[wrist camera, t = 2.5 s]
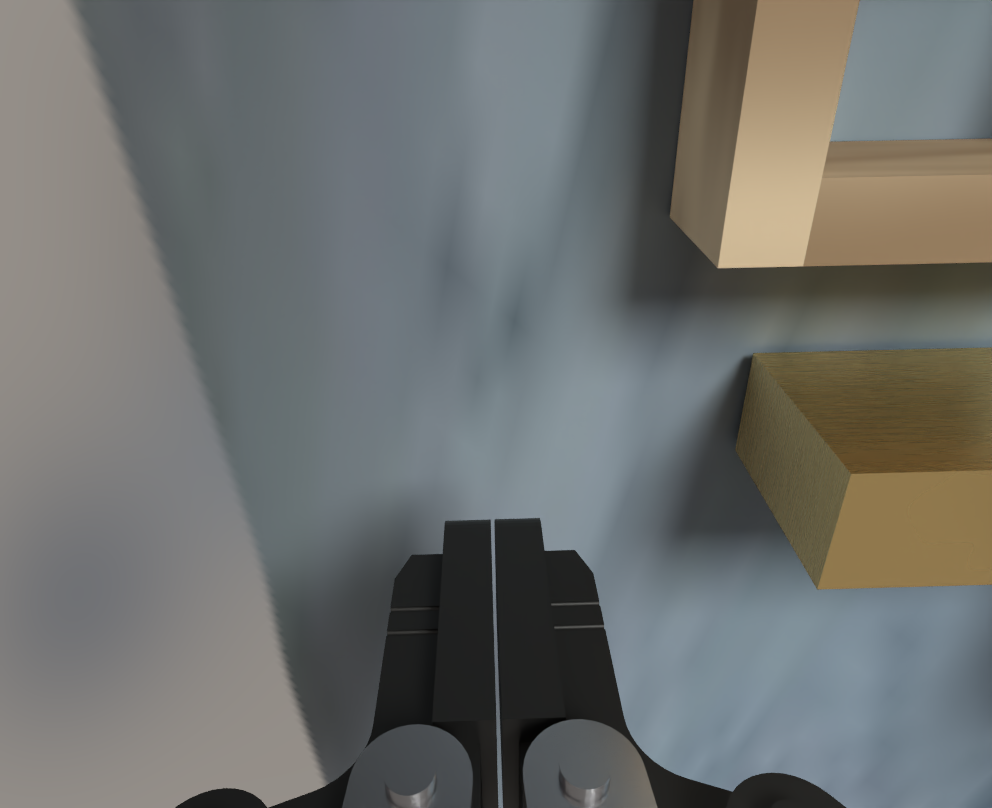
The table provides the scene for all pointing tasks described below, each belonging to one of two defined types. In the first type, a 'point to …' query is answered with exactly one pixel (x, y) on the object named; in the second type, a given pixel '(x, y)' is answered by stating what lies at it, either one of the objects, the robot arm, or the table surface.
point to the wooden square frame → (809, 153)
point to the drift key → (876, 462)
